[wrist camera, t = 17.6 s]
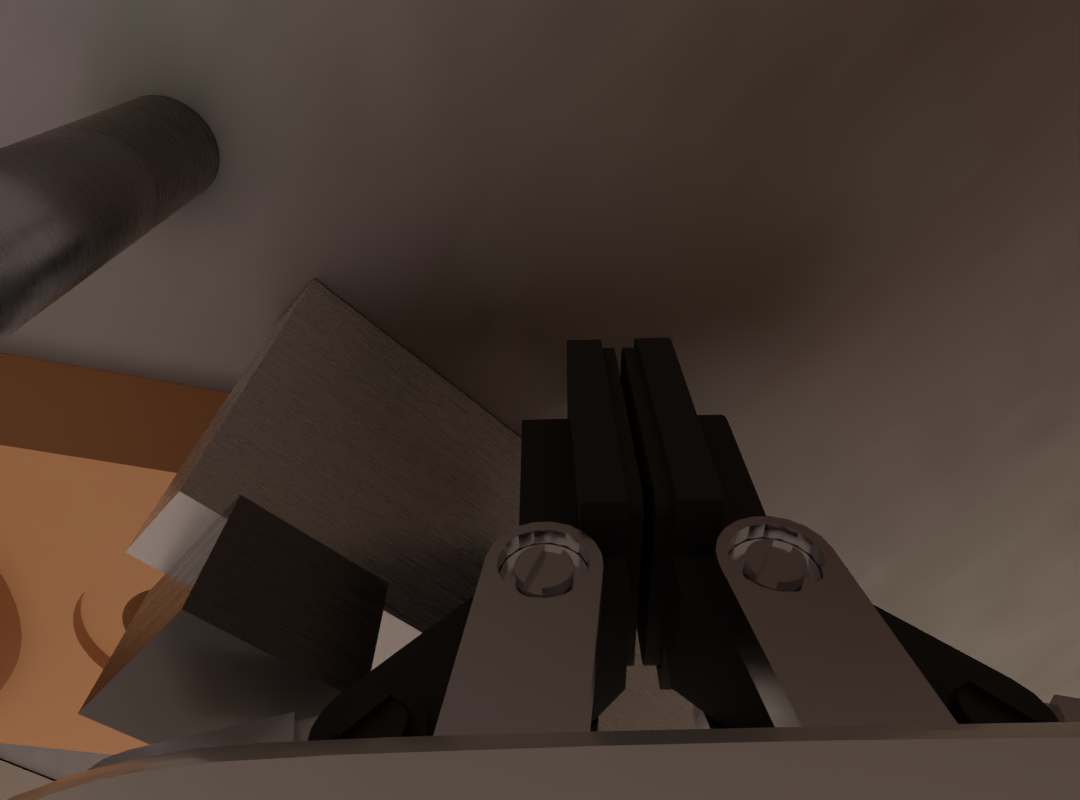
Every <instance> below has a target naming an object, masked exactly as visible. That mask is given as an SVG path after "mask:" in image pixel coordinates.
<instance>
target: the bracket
mask: <svg viewBox="0 0 1080 800" xmlns="http://www.w3.org/2000/svg"><path fill="white" fill-rule="evenodd" d="M229 394H230V393H226V392H221V391H215V390H209V389H204V388H198V387H192V386H187V385H181V384H175V383H169V382H164V381H158V380H152V379H147V378H141V377H135V376H130V375H124V374H118V373H113V372H107V371H101V370H96V369H90V368H84V367H79V366H73V365H67V364H62V363H56V362H50V361H44V360H39V359H33V358H27V357H22V356H16V355H10V354H5V353H0V743H6V744H15V745H25V746H35V747H44V748H54V749H64V750H74V751H83V752H93V753H103V754H112V755H116V754H118V753H121V752H124V751H126V750H130V749H134V748H138V747H143V746H147V745H150V744H147V743H145V742H143V741H140V740H138V739H136V738H133V737H131V736H129V735H126V734H124V733H121V732H119V731H117V730H114V729H112V728H110V727H107V726H105V725H103V724H100V723H98V722H96V721H93V720H91V719H89V718H86V717H84V716H82V715H79V714H78V712H79V711H80V709H81V707H82V705H83V704H84V702H85V700H86V699H87V697H88V695H89V693H90V692H91V690H92V688H93V686H94V685H95V683H96V681H97V680H98V678H99V676H100V674H101V673H102V671H103V669H104V668H105V666H106V664H107V662H108V661H109V659H110V657H111V656H112V654H113V652H114V650H115V649H116V647H117V645H118V643H119V642H120V640H121V638H122V637H123V635H124V633H125V631H126V630H127V628H128V626H129V625H130V623H131V621H132V619H133V618H134V616H135V614H136V612H137V611H138V609H139V607H140V606H141V604H142V602H143V600H144V599H145V597H146V595H147V594H148V592H149V591H150V590H151V589H152V588H153V587H154V586H155V584H156V583H157V582H158V581H159V580H160V579H161V578H162V577H163V576H164V575H165V573H163V572H161V571H159V570H157V569H156V568H154V567H152V566H150V565H148V564H146V563H144V562H142V561H140V560H139V559H137V558H135V557H133V556H131V555H129V554H127V553H125V552H126V550H127V548H128V547H129V545H130V544H131V542H132V541H133V539H134V538H135V536H136V535H137V533H138V532H139V530H140V529H141V527H142V526H143V524H144V523H145V521H146V520H147V518H148V517H149V515H150V514H151V512H152V511H153V509H154V508H155V506H156V504H157V503H158V501H159V500H160V498H161V497H162V495H163V494H164V492H165V491H166V489H167V488H168V486H169V485H170V483H171V482H172V480H173V479H174V477H175V476H176V474H177V473H178V471H179V470H180V468H181V467H182V465H183V464H184V462H185V461H186V459H187V457H188V456H189V454H190V453H191V451H192V450H193V448H194V447H195V445H196V444H197V442H198V441H199V439H200V438H201V436H202V435H203V433H204V432H205V430H206V429H207V427H208V426H209V424H210V423H211V421H212V420H213V418H214V417H215V415H216V413H217V412H218V410H219V409H220V407H221V406H222V404H223V403H224V401H225V400H226V398H227V397H228V395H229Z"/></svg>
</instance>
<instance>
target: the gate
mask: <svg viewBox="0 0 1080 800" xmlns="http://www.w3.org/2000/svg"><path fill="white" fill-rule="evenodd" d="M521 439H522V438H520V437H519V436H518V435H516V434H515V433H514V432H513V431H511V430H510V429H509V428H507V427H506V426H505V425H503V424H502V423H501V422H500V421H498V420H497V419H496V418H494V417H493V416H492V415H490V414H489V413H488V412H487V411H485V410H484V409H483V408H481V407H480V406H479V405H477V404H476V403H475V402H474V401H472V400H471V399H470V398H468V397H467V396H466V395H464V394H463V393H462V392H461V391H459V390H458V389H457V388H455V387H454V386H453V385H451V384H450V383H449V382H448V381H446V380H445V379H444V378H442V377H441V376H440V375H438V374H437V373H436V372H435V371H433V370H432V369H431V368H429V367H428V366H427V365H425V364H424V363H423V362H422V361H420V360H419V359H418V358H416V357H415V356H414V355H412V354H411V353H410V352H408V351H407V350H406V349H405V348H403V347H402V346H401V345H399V344H398V343H397V342H395V341H394V340H393V339H392V338H390V337H389V336H388V335H386V334H385V333H384V332H382V331H381V330H380V329H379V328H377V327H376V326H375V325H373V324H372V323H371V322H369V321H368V320H367V319H366V318H364V317H363V316H362V315H360V314H359V313H358V312H356V311H355V310H354V309H353V308H351V307H350V306H349V305H347V304H346V303H345V302H343V301H342V300H341V299H340V298H338V297H337V296H336V295H334V294H333V293H332V292H330V291H329V290H328V289H327V288H325V287H324V286H323V285H321V284H320V283H319V282H317V281H316V280H315V279H313V280H312V281H311V283H310V284H309V285H308V286H307V287H306V288H305V290H304V291H303V292H302V293H301V294H300V296H299V297H298V298H297V299H296V300H295V301H294V303H293V304H292V305H291V306H290V307H289V308H288V310H287V311H286V312H285V313H284V314H283V316H282V317H281V318H280V319H279V320H278V321H277V323H276V324H275V325H274V327H273V329H272V330H271V332H270V333H269V335H268V336H267V338H266V339H265V341H264V342H263V344H262V345H261V347H260V348H259V350H258V351H257V353H256V354H255V356H254V357H253V359H252V360H251V362H250V363H249V365H248V366H247V368H246V369H245V371H244V373H243V374H242V376H241V377H240V379H239V380H238V382H237V383H236V385H235V386H234V388H233V389H232V391H231V392H230V394H229V395H228V397H227V398H226V400H225V401H224V403H223V404H222V406H221V407H220V409H219V410H218V412H217V413H216V415H215V417H214V418H213V420H212V421H211V423H210V424H209V426H208V427H207V429H206V430H205V432H204V433H203V435H202V436H201V438H200V439H199V441H198V442H197V444H196V445H195V447H194V448H193V450H192V451H191V453H190V454H189V456H188V457H187V459H186V461H185V462H184V464H183V465H182V467H181V468H180V470H179V471H178V473H177V474H176V476H175V477H174V479H173V480H172V482H171V483H170V485H169V486H168V488H167V489H166V491H165V492H164V494H163V495H162V497H161V498H160V500H159V501H158V503H157V504H156V506H155V508H154V509H153V511H152V512H151V514H150V515H149V517H148V518H147V520H146V521H145V523H144V524H143V526H142V527H141V529H140V530H139V532H138V533H137V535H136V536H135V538H134V539H133V541H132V542H131V544H130V545H129V547H128V548H127V550H126V552H125V553H127V554H129V555H131V556H133V557H135V558H137V559H139V560H140V561H142V562H144V563H146V564H148V565H150V566H152V567H154V568H156V569H157V570H159V571H161V572H163V573H165V575H164V576H163V577H162V578H161V579H160V580H159V581H158V582H157V583H156V584H155V586H154V587H153V588H152V589H151V590H150V591H149V592H148V594H147V595H146V597H145V599H144V600H143V602H142V604H141V606H140V607H139V609H138V611H137V612H136V614H135V616H134V618H133V619H132V621H131V623H130V625H129V626H128V628H127V630H126V631H125V633H124V635H123V637H122V638H121V640H120V642H119V643H118V645H117V647H116V649H115V650H114V652H113V654H112V656H111V657H110V659H109V661H108V662H107V664H106V666H105V668H104V669H103V671H102V673H101V674H100V676H99V678H98V680H97V681H96V683H95V685H94V686H93V688H92V690H91V692H90V693H89V695H88V697H87V699H86V700H85V702H84V704H83V705H82V707H81V709H80V711H79V712H78V714H79V715H82V716H84V717H86V718H89V719H91V720H93V721H96V722H98V723H100V724H103V725H105V726H107V727H110V728H112V729H114V730H117V731H119V732H121V733H124V734H126V735H129V736H131V737H133V738H136V739H138V740H140V741H143V742H145V743H147V744H150V745H151V744H156V743H160V742H165V741H169V740H173V739H178V738H182V737H186V736H191V735H195V734H199V733H204V732H208V731H212V730H217V729H221V728H226V727H230V726H234V725H239V724H243V723H247V722H252V721H256V720H260V719H265V718H269V717H273V716H278V715H282V714H287V713H291V712H295V714H296V717H297V720H303V719H307V718H311V717H316V716H319V715H320V713H321V712H322V710H323V709H324V708H325V707H326V706H327V705H328V704H329V703H330V702H331V701H332V700H334V699H335V698H336V697H337V696H338V695H339V694H340V693H342V692H343V691H344V690H346V689H347V688H348V687H350V686H351V685H352V684H354V683H355V682H357V681H358V680H359V679H361V678H362V677H363V676H365V675H366V674H367V673H369V672H370V671H371V670H373V669H374V668H376V667H377V666H378V665H380V664H381V663H382V662H384V661H385V660H386V659H388V658H389V657H390V656H392V655H393V654H394V653H396V652H397V651H399V650H400V649H401V648H403V647H404V646H405V645H407V644H408V643H409V642H411V641H412V640H413V639H415V638H416V637H418V636H419V635H420V634H422V633H423V632H424V631H426V630H427V629H428V628H430V627H431V626H432V625H434V624H435V623H437V622H438V621H439V620H441V619H442V618H443V617H445V616H446V615H447V614H449V613H450V612H451V611H453V610H454V609H455V608H457V607H458V606H460V605H461V604H462V603H464V602H465V601H466V600H468V599H469V598H470V597H472V596H473V595H474V594H475V591H476V588H477V584H478V581H479V577H480V574H481V571H482V567H483V564H484V560H485V557H486V555H487V553H488V551H489V549H490V547H491V545H492V544H493V543H494V542H495V541H496V540H497V539H498V538H499V537H500V536H501V535H502V534H504V533H506V532H508V531H510V530H512V529H513V528H515V527H517V526H519V508H520V474H521ZM693 707H694V705H693V704H692V703H691V702H689V701H688V700H687V699H685V698H684V697H683V696H681V695H680V694H678V693H677V692H676V691H674V690H673V689H669V690H660V686H659V680H658V674H657V669H656V665H655V666H644V665H643V663H642V659H641V653H640V646H639V640H638V633H637V630H636V645H635V661H634V666H627V670H626V688H625V690H624V691H623V692H622V693H621V694H620V695H619V696H618V697H617V698H616V699H615V700H614V701H613V702H612V703H611V704H610V705H609V706H608V707H607V708H606V709H605V710H604V711H603V712H602V713H601V714H600V720H599V731H639V730H682V729H696V727H695V722H694V717H693Z"/></svg>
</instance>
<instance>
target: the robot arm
mask: <svg viewBox="0 0 1080 800" xmlns="http://www.w3.org/2000/svg"><path fill="white" fill-rule="evenodd" d="M567 402H568V419H544V420H522V439H521V474H520V508H519V526H517V527H515V528H513V529H512V530H510V531H508V532H506V533H504V534H502V535H501V536H500V537H499V538H498V539H497V540H496V541H495V542H494V543H493V544H492V545H491V547H490V549H489V551H488V553H487V555H486V557H485V560H484V564H483V567H482V571H481V574H480V577H479V581H478V584H477V588H476V591H475V594H474V595H473V596H472V597H470V598H469V599H468V600H466V601H465V602H464V603H462V604H461V605H460V606H458V607H457V608H455V609H454V610H453V611H451V612H450V613H449V614H447V615H446V616H445V617H443V618H442V619H441V620H439V621H438V622H437V623H435V624H434V625H432V626H431V627H430V628H428V629H427V630H426V631H424V632H423V633H422V634H420V635H419V636H418V637H416V638H415V639H413V640H412V641H411V642H409V643H408V644H407V645H405V646H404V647H403V648H401V649H400V650H399V651H397V652H396V653H394V654H393V655H392V656H390V657H389V658H388V659H386V660H385V661H384V662H382V663H381V664H380V665H378V666H377V667H376V668H374V669H373V670H371V671H370V672H369V673H367V674H366V675H365V676H363V677H362V678H361V679H359V680H358V681H357V682H355V683H354V684H352V685H351V686H350V687H348V688H347V689H346V690H344V691H343V692H342V693H340V694H339V695H338V696H337V697H336V698H335V699H334V700H332V701H331V702H330V703H329V704H328V705H327V706H326V707H325V708H324V709H323V710H322V712H321V713H320V715H319V716H316V717H311V718H307V719H303V720H297V717H296V714H295V712H291V713H287V714H282V715H278V716H273V717H269V718H265V719H260V720H256V721H252V722H247V723H243V724H239V725H234V726H230V727H226V728H221V729H217V730H212V731H208V732H204V733H199V734H195V735H191V736H186V737H182V738H178V739H173V740H169V741H165V742H160V743H156V744H151V745H147V746H143V747H138V748H134V749H130V750H126V751H124V752H121V753H118V754H116V755H113V756H110V757H108V758H105V759H103V760H101V761H100V762H99V763H97V764H96V765H94V766H93V767H91V768H90V769H88V770H87V771H84V772H80V773H76V774H73V775H70V776H67V777H65V778H62V779H59V780H57V781H54V782H51V783H48V784H46V785H43V786H40V787H38V788H35V789H32V790H29V791H27V792H24V793H21V794H19V795H16V796H13V797H11V798H9V799H7V800H1080V699H1079V698H1073V697H1067V696H1061V695H1054V696H1053V698H1052V700H1051V702H1050V703H1049V704H1048V703H1043V702H1042V701H1041V700H1040V699H1039V698H1038V697H1037V696H1036V695H1035V694H1034V693H1032V692H1031V691H1029V690H1028V689H1026V688H1025V687H1023V686H1022V685H1020V684H1019V683H1017V682H1016V681H1014V680H1013V679H1011V678H1009V677H1007V676H1005V675H1003V674H1001V673H1000V672H998V671H996V670H994V669H992V668H990V667H988V666H987V665H985V664H983V663H981V662H979V661H977V660H975V659H973V658H972V657H970V656H968V655H966V654H964V653H962V652H960V651H959V650H957V649H955V648H953V647H951V646H949V645H947V644H946V643H944V642H942V641H940V640H938V639H936V638H934V637H933V636H931V635H929V634H927V633H925V632H923V631H921V630H919V629H918V628H916V627H914V626H912V625H910V624H908V623H906V622H905V621H903V620H901V619H899V618H897V617H895V616H893V615H892V614H890V613H888V612H886V611H884V610H882V609H880V608H878V607H877V606H875V605H873V604H872V603H871V601H870V600H869V598H868V597H867V596H866V594H865V593H864V591H863V590H862V589H861V587H860V586H859V584H858V583H857V582H856V580H855V579H854V577H853V576H852V575H851V573H850V572H849V570H848V569H847V568H846V566H845V565H844V563H843V562H842V561H841V559H840V558H839V556H838V555H837V554H836V552H835V551H834V549H833V548H832V547H831V546H830V545H829V544H828V543H827V542H826V541H825V540H824V539H823V538H822V536H820V535H819V534H817V533H816V532H814V531H812V530H811V529H809V528H808V527H806V526H804V525H801V524H799V523H796V522H794V521H791V520H788V519H783V518H777V517H772V516H766V515H765V512H764V510H763V507H762V505H761V502H760V500H759V497H758V495H757V492H756V490H755V487H754V485H753V483H752V480H751V478H750V475H749V473H748V470H747V468H746V465H745V463H744V460H743V458H742V455H741V453H740V450H739V448H738V445H737V443H736V441H735V438H734V436H733V433H732V431H731V428H730V426H729V423H728V421H727V419H726V418H725V416H723V415H697V414H696V411H695V408H694V405H693V402H692V399H691V396H690V393H689V391H688V388H687V385H686V382H685V379H684V376H683V373H682V370H681V367H680V364H679V362H678V359H677V356H676V353H675V350H674V347H673V344H672V341H671V339H670V338H639V339H635V341H634V347H632V348H622V353H621V377H620V374H619V369H618V364H617V359H616V354H615V349H614V348H602V343H601V340H570V341H567ZM636 630H637V633H638V640H639V646H640V653H641V659H642V663H643V665H644V666H655V665H656V669H657V674H658V680H659V686H660V690H669V689H673V690H674V691H676V692H677V693H678V694H680V695H681V696H683V697H684V698H685V699H687V700H688V701H689V702H691V703H692V704H693V705H694V707H693V717H694V722H695V727H696V729H682V730H639V731H599V720H600V714H601V713H602V712H603V711H604V710H605V709H606V708H607V707H608V706H609V705H610V704H611V703H612V702H613V701H614V700H615V699H616V698H617V697H618V696H619V695H620V694H621V693H622V692H623V691H624V690H625V688H626V670H627V666H634V661H635V645H636Z"/></svg>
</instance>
